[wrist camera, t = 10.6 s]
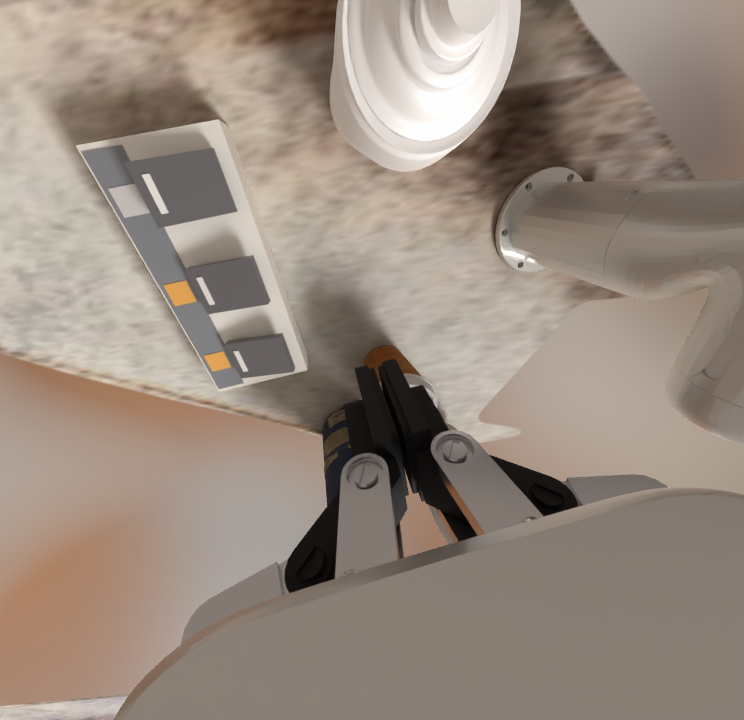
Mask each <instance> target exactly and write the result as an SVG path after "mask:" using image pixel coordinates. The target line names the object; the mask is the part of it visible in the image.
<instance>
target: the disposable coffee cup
mask: <svg viewBox="0 0 744 720" xmlns="http://www.w3.org/2000/svg"><path fill="white" fill-rule="evenodd" d="M394 358H395V359H396V360H397V362H398V364H399V366H400V368H401V370H402V372H403V374H404V376H405V378H406V380H407V382H408V384H409V386H410V388H411V387H415V386H419V385H423V386H424V387H425V389H426V391H427V392H428V394H429V396H430V398H431V399H432V401H433V403H434V405H435V406H436V408H437V392H436V389H435V387H434V386H433V385H432V383H431V382H429V381H428V380H427V379H425V378H423V377H422V376H421V375H420V374H419V373H418V372H417V371H416V369H415V368H414V367H413V366H412V365H411V364H410V363H409V361H408V360H407V359H406V358H405V357H404V356H403V355H402V354H401V352H400V351H399V350H398V349H396V348H395V347H392V346H380V347H377V348H375V349H373V350H372V351H371V352H370V353H369V354H368V355H367V357H366V359H365V362H364V366H366V365H368V367H369V368H373V367H374V369H375V372H376V374H377V377H378V380H379V383H380V386H381V381H380V376H379V371H378V366H381V365H382V361H386V360H390V359H394ZM381 388H382V386H381Z"/></svg>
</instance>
